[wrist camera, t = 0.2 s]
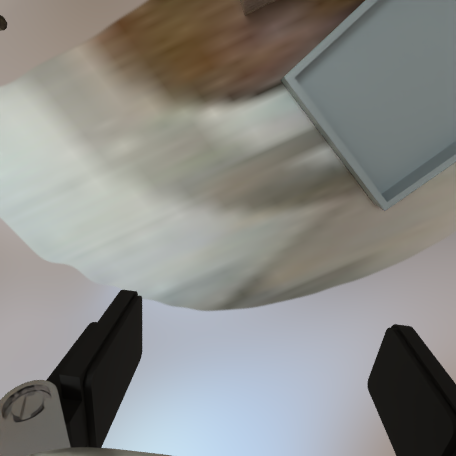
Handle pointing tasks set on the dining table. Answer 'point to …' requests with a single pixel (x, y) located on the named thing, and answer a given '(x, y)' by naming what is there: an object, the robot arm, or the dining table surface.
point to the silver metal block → (253, 5)
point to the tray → (385, 94)
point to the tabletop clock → (3, 23)
